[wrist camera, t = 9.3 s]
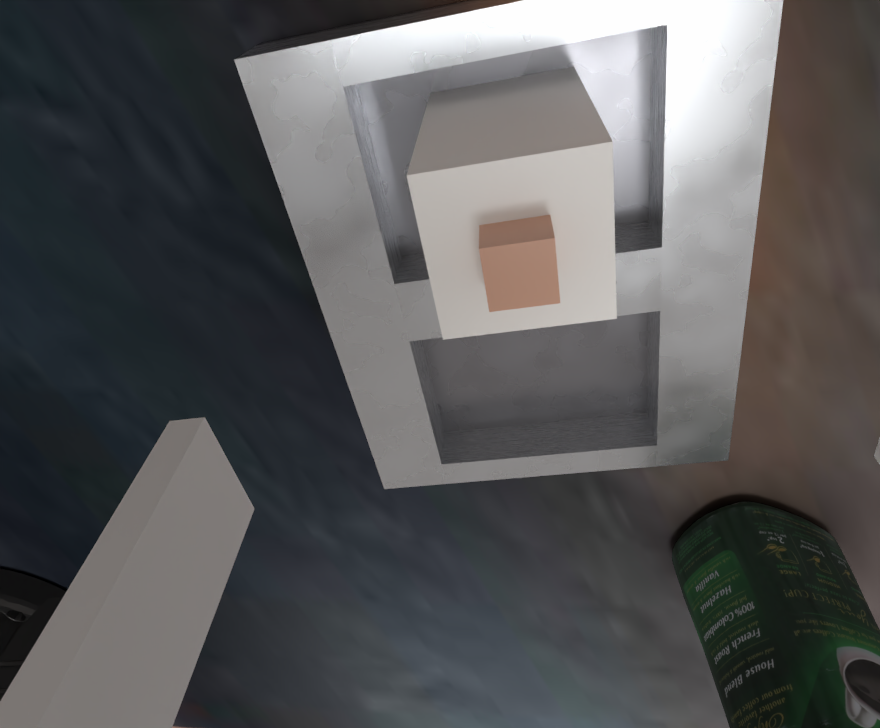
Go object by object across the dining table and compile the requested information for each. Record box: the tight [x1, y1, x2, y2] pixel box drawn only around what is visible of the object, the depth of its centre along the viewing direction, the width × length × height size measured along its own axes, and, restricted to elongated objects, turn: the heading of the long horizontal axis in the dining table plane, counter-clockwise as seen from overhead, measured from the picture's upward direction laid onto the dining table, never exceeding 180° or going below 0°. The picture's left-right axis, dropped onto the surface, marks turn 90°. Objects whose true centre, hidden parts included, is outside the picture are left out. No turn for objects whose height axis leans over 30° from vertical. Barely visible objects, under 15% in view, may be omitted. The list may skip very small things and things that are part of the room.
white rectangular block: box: [406, 67, 617, 340], centre depth 21 cm, size 6×6×10 cm
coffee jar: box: [672, 502, 880, 728], centre depth 32 cm, size 10×8×19 cm
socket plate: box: [234, 0, 783, 489], centre depth 28 cm, size 18×22×3 cm
